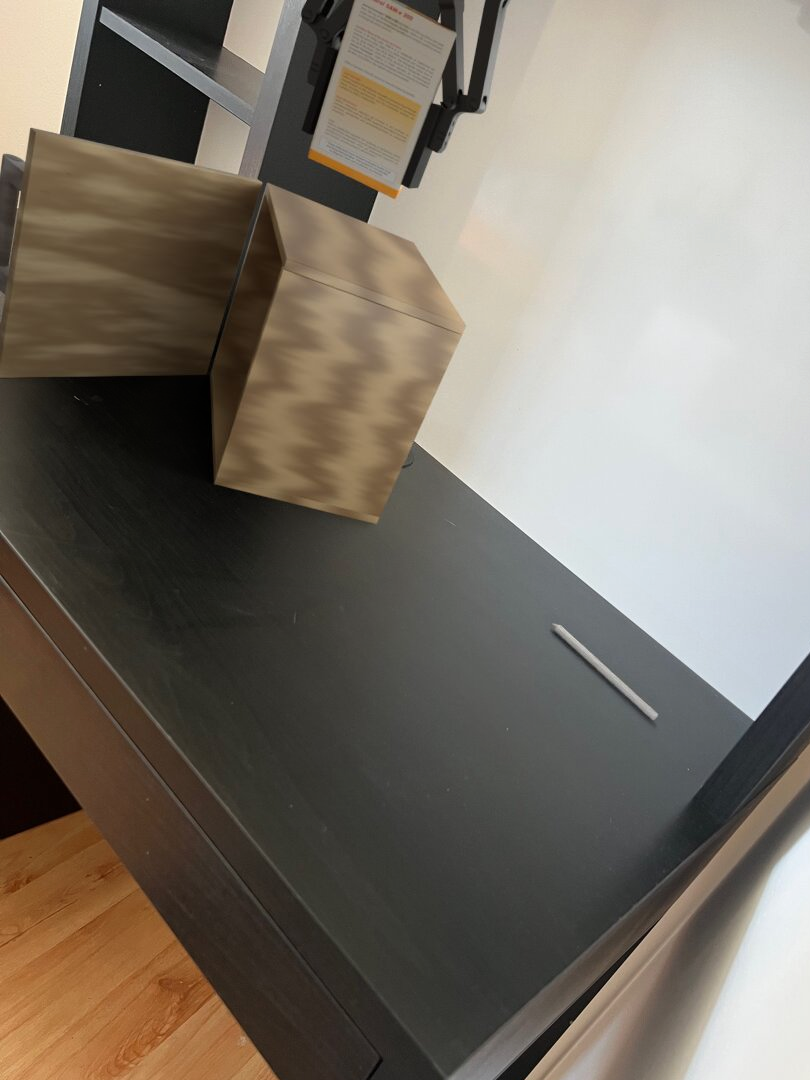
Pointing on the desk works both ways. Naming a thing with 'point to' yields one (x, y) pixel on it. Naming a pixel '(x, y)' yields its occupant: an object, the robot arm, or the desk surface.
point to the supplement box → (380, 93)
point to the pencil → (606, 672)
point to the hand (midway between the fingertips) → (360, 159)
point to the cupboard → (326, 359)
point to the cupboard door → (115, 259)
